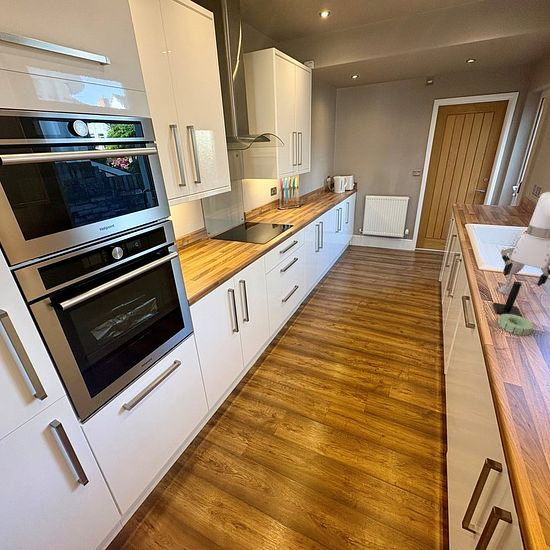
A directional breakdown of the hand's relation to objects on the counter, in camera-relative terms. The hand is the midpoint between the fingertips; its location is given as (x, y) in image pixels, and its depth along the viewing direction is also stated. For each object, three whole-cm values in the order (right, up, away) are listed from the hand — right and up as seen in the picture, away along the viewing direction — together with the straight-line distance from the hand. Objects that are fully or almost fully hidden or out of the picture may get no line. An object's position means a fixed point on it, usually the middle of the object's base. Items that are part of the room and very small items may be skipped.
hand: (522, 279), depth 101 cm
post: (+8, -13, +17) cm, 23 cm away
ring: (+3, -18, +7) cm, 19 cm away
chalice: (+19, -6, +32) cm, 38 cm away
